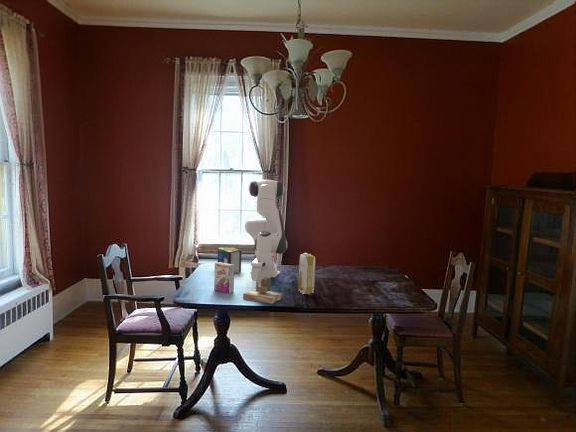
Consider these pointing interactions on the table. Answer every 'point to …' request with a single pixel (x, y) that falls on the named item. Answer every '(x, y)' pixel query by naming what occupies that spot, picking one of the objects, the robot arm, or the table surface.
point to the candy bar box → (224, 277)
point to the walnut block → (264, 285)
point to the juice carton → (306, 273)
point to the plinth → (262, 296)
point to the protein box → (230, 257)
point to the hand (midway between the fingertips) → (263, 285)
